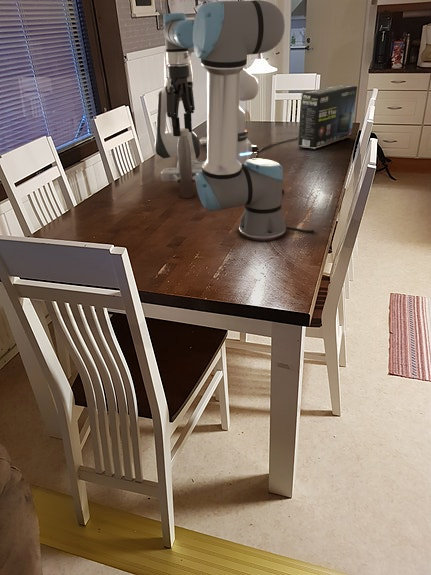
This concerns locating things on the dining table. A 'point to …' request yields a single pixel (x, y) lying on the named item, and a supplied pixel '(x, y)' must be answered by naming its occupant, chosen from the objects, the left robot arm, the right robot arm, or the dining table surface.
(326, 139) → the router box
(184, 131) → the cap
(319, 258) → the dining table surface
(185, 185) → the bottle
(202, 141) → the fossil
